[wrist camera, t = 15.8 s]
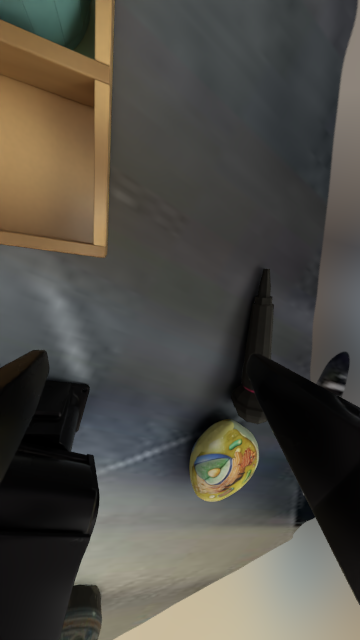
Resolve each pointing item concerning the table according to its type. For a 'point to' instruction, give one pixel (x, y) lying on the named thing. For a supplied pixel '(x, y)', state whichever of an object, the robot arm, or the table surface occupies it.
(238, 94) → the table surface
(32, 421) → the robot arm
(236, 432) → the plant cell model
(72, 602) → the beer stein
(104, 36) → the divided wooden tray
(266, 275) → the microphone
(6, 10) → the tumbler
